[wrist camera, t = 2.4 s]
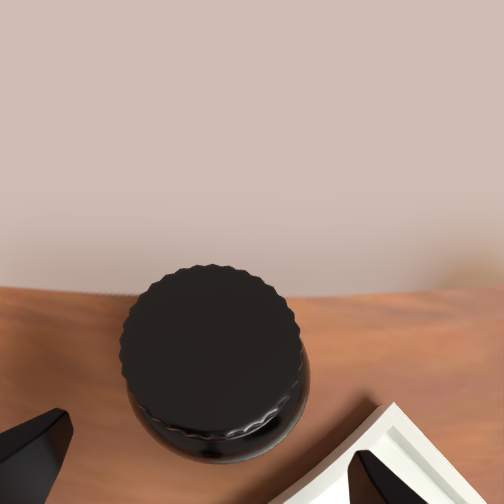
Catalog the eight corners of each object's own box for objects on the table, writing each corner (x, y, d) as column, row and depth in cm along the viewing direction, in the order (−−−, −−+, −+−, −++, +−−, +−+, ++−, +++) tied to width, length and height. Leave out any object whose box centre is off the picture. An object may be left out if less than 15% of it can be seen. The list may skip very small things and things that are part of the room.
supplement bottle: (303, 400, 18) (394, 352, 8) (219, 472, 15) (198, 535, 5) (228, 324, 20) (225, 197, 10) (145, 388, 17) (43, 324, 7)
